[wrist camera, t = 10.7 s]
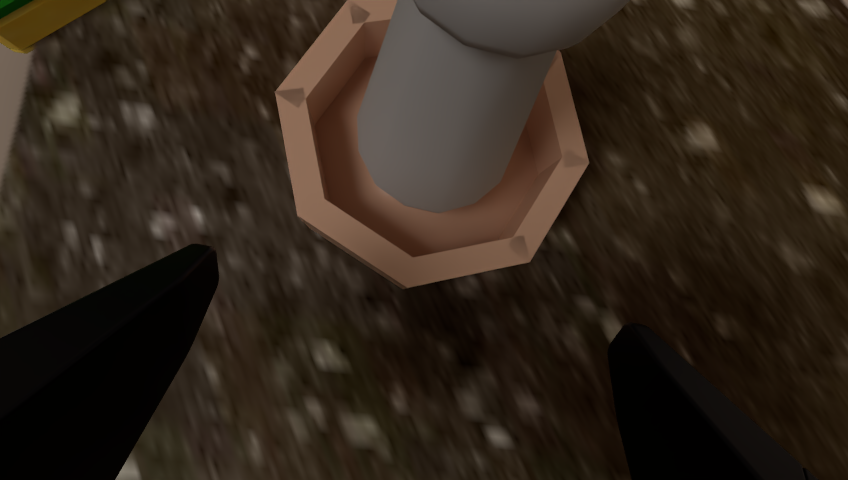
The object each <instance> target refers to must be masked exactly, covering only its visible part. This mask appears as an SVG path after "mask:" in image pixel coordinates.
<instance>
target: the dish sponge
mask: <svg viewBox="0 0 848 480" xmlns="http://www.w3.org/2000/svg"><path fill="white" fill-rule="evenodd" d="M106 1H107V0H0V43H1V44H3V45H5V46H6V47H7V48H9V49H10V50H12V51H14V52H17V53H24V54H28V53H29V52H31V51H33V46H34V43H35V42H37V41H39V40H41V39H42V38H44V37H46V36H47V35H49V34H51V33H53V32H54V31H56V30H58V29H59V28H61V27H63V26H65V25H66V24H68V23H70V22H71V21H73V20H75V19H77V18H78V17H80V16H82V15H83V14H85V13H87V12H89V11H90V10H92V9H94V8H95V7H97V6H99V5H101V4H102V3H104V2H106Z"/></svg>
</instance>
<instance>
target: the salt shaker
mask: <svg viewBox="0 0 848 480" xmlns="http://www.w3.org/2000/svg"><path fill="white" fill-rule="evenodd" d="M629 1H630V0H397V3H396V6H395V9H394V11H393V14H392V17H391V20H390V23H389V26H388V29H387V32H386V35H385V37H384V40H383V43H382V46H381V49H380V52H379V55H378V58H377V60H376V63H375V66H374V69H373V72H372V75H371V78H370V81H369V83H368V86H367V89H366V92H365V95H364V98H363V101H362V104H361V107H360V109H359V112H358V115H357V128H358V151H359V153H360V155H361V157H362V159H363V161H364V163H365V165H366V167H367V169H368V171H369V173H370V175H371V177H372V179H373V181H374V183H375V184H376V186H378V187H379V188H380V189H382V190H383V191H385V192H386V193H388V194H389V195H390V196H392V197H393V198H395V199H396V200H397V201H399V202H400V203H402V204H403V205H405V206H408V207H413V208H417V209H422V210H426V211H430V212H435V213H442V212H445V211H449V210H453V209H456V208H460V207H464V206H467V205H471V204H475V203H476V202H477V201H478V200H479V199H481V198H482V197H483V196H484V195H485V194H487V193H488V192H489V191H490V190H491V189H493V188H494V187H495V186H496V185H497V184H499V183H500V182H501V180H502V177H503V175H504V173H505V170H506V168H507V166H508V163H509V161H510V159H511V156H512V154H513V152H514V149H515V147H516V145H517V142H518V140H519V138H520V135H521V133H522V131H523V128H524V126H525V124H526V121H527V119H528V117H529V114H530V112H531V110H532V107H533V105H534V103H535V100H536V98H537V96H538V93H539V91H540V89H541V86H542V84H543V82H544V79H545V77H546V75H547V72H548V70H549V68H550V66H551V63H552V61H553V59H554V56H555V54H556V52H557V50H562V49H566V48H569V47H571V46H573V45H575V44H578V43H580V42H581V41H582V40H583V39H585V38H586V37H587V36H588V35H590V34H591V33H592V32H593V31H595V30H596V29H597V28H598V27H600V26H601V25H602V24H603V23H605V22H606V21H607V20H608V19H610V18H611V17H612V16H613V15H615V14H616V13H617V12H618V11H620V10H621V9H622V8H623V7H624V6H625V5H626V4H627V3H628V2H629Z"/></svg>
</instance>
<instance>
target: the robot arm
mask: <svg viewBox="0 0 848 480" xmlns="http://www.w3.org/2000/svg"><path fill="white" fill-rule="evenodd" d="M218 282H219V272H218V263H217V254H216V250H215V249H214V248H213V247H211V246H206V245H201V244H191V245H189V246H187V247H184V248H182V249H180V250H178V251H176V252H174V253H172V254H170V255H168V256H166V257H164V258H162V259H160V260H158V261H156V262H154V263H152V264H150V265H148V266H146V267H144V268H142V269H140V270H138V271H136V272H134V273H132V274H130V275H128V276H126V277H124V278H122V279H119V280H117V281H115V282H113V283H111V284H109V285H107V286H105V287H103V288H101V289H99V290H97V291H95V292H93V293H91V294H89V295H87V296H85V297H83V298H81V299H79V300H77V301H75V302H73V303H71V304H69V305H67V306H65V307H63V308H61V309H59V310H56V311H54V312H52V313H50V314H48V315H46V316H44V317H42V318H40V319H38V320H36V321H34V322H32V323H30V324H28V325H26V326H24V327H22V328H20V329H18V330H16V331H14V332H12V333H10V334H8V335H6V336H4V337H2V338H0V480H115V479H116V477H117V476H118V474H119V472H120V470H121V469H122V467H123V465H124V463H125V462H126V460H127V458H128V457H129V455H130V453H131V451H132V450H133V448H134V446H135V444H136V443H137V441H138V439H139V438H140V436H141V434H142V432H143V431H144V429H145V427H146V425H147V424H148V422H149V420H150V419H151V417H152V415H153V413H154V412H155V410H156V408H157V406H158V405H159V403H160V401H161V400H162V398H163V396H164V394H165V393H166V391H167V389H168V387H169V386H170V384H171V382H172V381H173V379H174V377H175V375H176V374H177V372H178V370H179V368H180V367H181V365H182V363H183V362H184V360H185V358H186V356H187V354H188V352H189V350H190V348H191V346H192V344H193V342H194V339H195V337H196V335H197V333H198V330H199V328H200V326H201V323H202V321H203V319H204V316H205V314H206V312H207V309H208V307H209V305H210V302H211V300H212V298H213V295H214V293H215V291H216V288H217V286H218ZM608 362H609V369H610V376H611V383H612V390H613V397H614V404H615V411H616V416H617V421H618V426H619V430H620V434H621V438H622V442H623V446H624V450H625V454H626V458H627V462H628V466H629V470H630V474H631V478H632V480H818V479H817V478H816V477H815V476H814V475H813V474H811V473H810V472H809V471H808V470H807V469H805V468H802V465H801V464H800V463H799V462H798V461H797V460H796V459H795V458H793V457H792V456H791V455H790V454H789V453H788V452H787V451H786V450H785V449H783V448H782V447H781V446H780V445H779V444H778V443H777V442H776V441H775V440H773V439H772V438H771V437H770V436H769V435H768V434H767V433H766V432H765V431H763V430H762V429H761V428H760V427H759V426H758V425H757V424H756V423H754V422H753V421H752V420H751V419H750V418H749V417H748V416H747V415H746V414H744V413H743V412H742V411H741V410H740V409H739V408H738V407H737V406H736V405H734V404H733V403H732V402H731V401H730V400H729V399H728V398H727V397H726V396H724V395H723V394H722V393H721V392H720V391H719V390H718V389H717V388H715V387H714V386H713V385H712V384H711V383H710V382H709V381H708V380H707V379H705V378H704V377H703V376H702V375H701V374H700V373H699V372H698V371H697V370H695V369H694V368H693V367H692V366H691V365H690V364H689V363H688V362H687V361H685V360H684V359H683V358H682V357H681V356H680V355H679V354H678V353H677V352H675V351H674V350H673V349H672V348H671V347H670V346H669V345H668V344H667V343H665V342H664V341H663V340H662V339H661V338H660V337H659V336H658V335H656V334H655V333H654V332H653V331H652V330H651V329H650V328H649V327H647V326H645V325H642V324H636V323H626V324H625V325H624V326H623V327H622V328H621V330H620V331H619V332H618V334H617V335H616V337H615V338H614V339H613V341H612V342H611V344H610V345H609V348H608Z"/></svg>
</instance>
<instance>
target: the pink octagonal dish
mask: <svg viewBox="0 0 848 480" xmlns="http://www.w3.org/2000/svg"><path fill="white" fill-rule="evenodd" d="M396 3H397V0H347V1H346V3H345V4H344V5H343V6H342V8H341V9H340V10H339V12H338V13H337V14H336V15H335V17H334V18H333V19H332V20H331V22H330V23H329V24H328V25H327V27H326V28H325V29H324V31H323V32H322V33H321V34H320V36H319V37H318V38H317V39H316V41H315V42H314V43H313V45H312V46H311V47H310V48H309V50H308V51H307V52H306V53H305V55H304V56H303V57H302V58H301V60H300V61H299V62H298V64H297V65H296V66H295V67H294V69H293V70H292V71H291V72H290V74H289V75H288V76H287V78H286V79H285V80H284V81H283V83H282V84H281V85H280V86H279V88H278V89H277V90H276V91H275V94H276V99H277V105H278V110H279V116H280V121H281V127H282V132H283V138H284V143H285V149H286V154H287V160H288V165H289V171H290V176H291V182H292V187H293V193H294V198H295V204H296V209H297V216H298V217H299V218H300V219H301V220H302V221H303V222H304V223H305V224H306V225H307V226H308V227H309V228H310V229H312V230H313V231H315V232H316V233H318V234H319V235H321V236H322V237H324V238H325V239H327V240H328V241H330V242H331V243H333V244H334V245H336V246H337V247H339V248H340V249H342V250H344V251H345V252H347V253H348V254H350V255H351V256H353V257H354V258H356V259H357V260H359V261H360V262H362V263H363V264H365V265H366V266H368V267H369V268H371V269H372V270H374V271H375V272H377V273H378V274H380V275H381V276H383V277H385V278H386V279H388V280H389V281H391V282H392V283H394V284H395V285H397V286H398V287H400V288H401V289H407V288H409V287H414V286H419V285H424V284H428V283H433V282H438V281H442V280H447V279H452V278H457V277H461V276H466V275H471V274H475V273H480V272H485V271H490V270H494V269H499V268H505V267H510V266H515V265H520V264H525V263H529V262H530V261H531V259H532V258H533V256H534V254H535V253H536V251H537V249H538V248H539V246H540V244H541V243H542V241H543V239H544V238H545V236H546V234H547V232H548V231H549V229H550V227H551V226H552V224H553V222H554V221H555V219H556V217H557V216H558V214H559V212H560V211H561V209H562V207H563V206H564V204H565V202H566V201H567V199H568V197H569V196H570V194H571V192H572V191H573V189H574V187H575V186H576V184H577V182H578V181H579V179H580V177H581V176H582V174H583V172H584V171H585V169H586V167H587V166H588V164H589V160H588V156H587V152H586V148H585V144H584V141H583V137H582V133H581V129H580V125H579V121H578V117H577V113H576V110H575V106H574V102H573V98H572V94H571V90H570V86H569V82H568V78H567V75H566V71H565V67H564V63H563V59H562V55H561V52H560V51H558V50H557V52H556V54H555V56H554V59H553V61H552V63H551V66H550V68H549V70H548V72H547V75H546V77H545V79H544V82H543V84H542V86H541V89H540V91H539V93H538V96H537V98H536V100H535V103H534V105H533V107H532V110H531V112H530V114H529V117H528V119H527V121H526V124H525V126H524V128H523V131H522V133H521V135H520V138H519V140H518V142H517V145H516V147H515V149H514V152H513V154H512V156H511V159H510V161H509V163H508V166H507V168H506V170H505V173H504V175H503V177H502V180H501V182H500V183H499V184H497V185H496V186H495V187H494V188H493V189H491V190H490V191H489V192H488V193H487V194H485V195H484V196H483V197H482V198H481V199H479V200H478V201H477V202H476V203H475V204H471V205H467V206H464V207H460V208H456V209H453V210H449V211H445V212H442V213H435V212H430V211H426V210H422V209H417V208H413V207H408V206H405V205H403V204H402V203H400V202H399V201H397V200H396V199H395V198H393V197H392V196H390V195H389V194H388V193H386V192H385V191H383V190H382V189H380V188H379V187H378V186H376V184H375V183H374V181H373V179H372V177H371V175H370V173H369V171H368V169H367V167H366V165H365V163H364V161H363V159H362V157H361V155H360V153H359V151H358V128H357V115H358V112H359V109H360V107H361V104H362V101H363V98H364V95H365V92H366V89H367V86H368V83H369V81H370V78H371V75H372V72H373V69H374V66H375V63H376V60H377V58H378V55H379V52H380V49H381V46H382V43H383V40H384V37H385V35H386V32H387V29H388V26H389V23H390V20H391V17H392V14H393V11H394V9H395V6H396Z"/></svg>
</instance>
